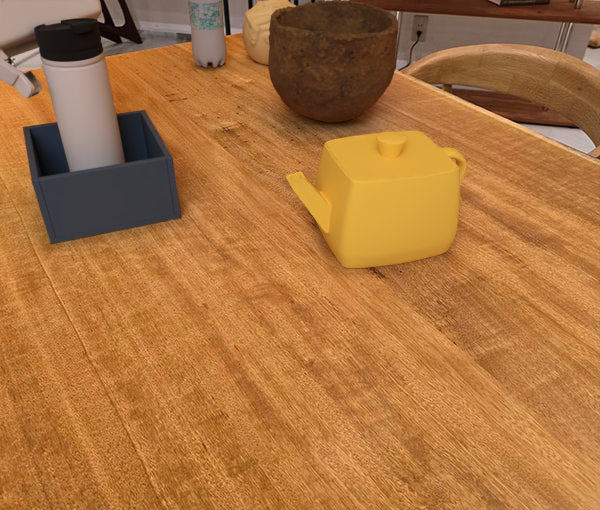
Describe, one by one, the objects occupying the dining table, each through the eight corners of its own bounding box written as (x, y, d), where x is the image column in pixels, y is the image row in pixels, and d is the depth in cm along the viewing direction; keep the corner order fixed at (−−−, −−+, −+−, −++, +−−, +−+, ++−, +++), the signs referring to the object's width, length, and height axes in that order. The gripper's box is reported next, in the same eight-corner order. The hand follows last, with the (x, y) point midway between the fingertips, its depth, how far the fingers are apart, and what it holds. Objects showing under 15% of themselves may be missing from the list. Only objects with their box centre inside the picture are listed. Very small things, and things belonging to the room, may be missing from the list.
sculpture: (250, 72, 107) (248, 8, 100) (238, 52, 116) (235, -8, 109) (311, 68, 110) (312, 4, 103) (294, 48, 118) (295, -11, 112)
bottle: (233, 60, 112) (226, -62, 100) (220, 71, 107) (211, -55, 95) (200, 57, 114) (189, -64, 101) (186, 68, 109) (173, -58, 96)
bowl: (346, 155, 82) (354, 42, 72) (244, 121, 90) (239, 16, 81) (412, 114, 93) (426, 12, 84) (316, 87, 102) (319, -8, 92)
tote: (50, 244, 64) (31, 181, 59) (39, 184, 74) (22, 126, 69) (181, 218, 68) (173, 157, 64) (153, 165, 79) (144, 109, 74)
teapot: (302, 283, 59) (304, 177, 52) (272, 220, 68) (270, 122, 61) (479, 253, 64) (505, 152, 56) (429, 198, 73) (445, 104, 65)
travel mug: (97, 216, 67) (53, 30, 54) (67, 196, 71) (18, 17, 58) (143, 197, 71) (111, 18, 58) (112, 178, 74) (75, 6, 61)
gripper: (-122, -44, 49) (-1, 93, 52) (54, -74, 64) (141, 35, 67) (-134, 7, 54) (-21, 131, 57) (33, -32, 68) (117, 69, 71)
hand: (68, 78), depth 62 cm, fingers open, 8 cm apart
